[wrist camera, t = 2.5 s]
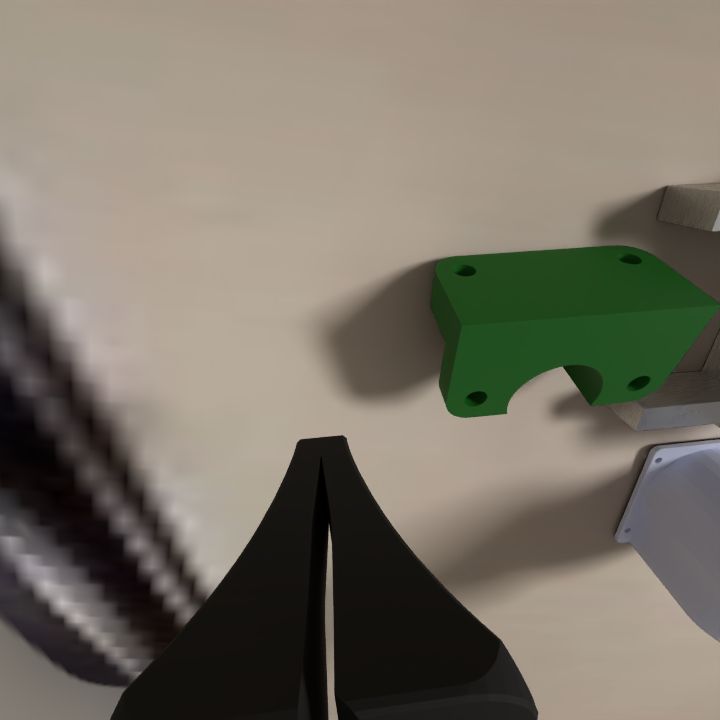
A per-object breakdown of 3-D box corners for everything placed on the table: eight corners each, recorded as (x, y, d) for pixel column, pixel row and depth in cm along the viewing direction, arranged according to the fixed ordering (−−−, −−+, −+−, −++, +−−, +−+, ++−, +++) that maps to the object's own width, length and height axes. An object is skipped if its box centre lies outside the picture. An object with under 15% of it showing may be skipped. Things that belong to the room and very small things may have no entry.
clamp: (436, 311, 24) (408, 412, 19) (448, 226, 21) (418, 318, 15) (633, 343, 22) (673, 471, 16) (688, 253, 18) (767, 376, 12)
